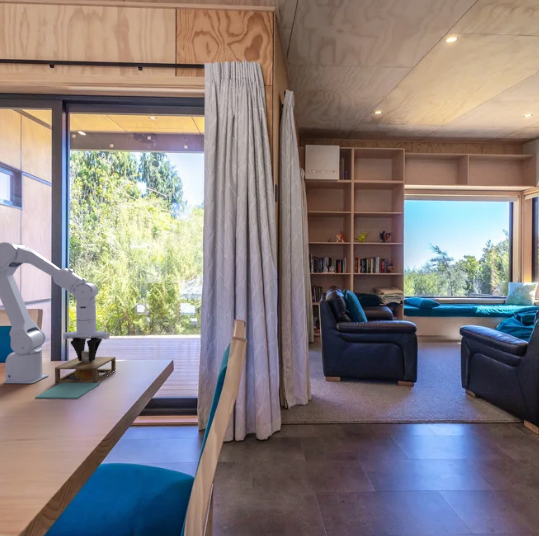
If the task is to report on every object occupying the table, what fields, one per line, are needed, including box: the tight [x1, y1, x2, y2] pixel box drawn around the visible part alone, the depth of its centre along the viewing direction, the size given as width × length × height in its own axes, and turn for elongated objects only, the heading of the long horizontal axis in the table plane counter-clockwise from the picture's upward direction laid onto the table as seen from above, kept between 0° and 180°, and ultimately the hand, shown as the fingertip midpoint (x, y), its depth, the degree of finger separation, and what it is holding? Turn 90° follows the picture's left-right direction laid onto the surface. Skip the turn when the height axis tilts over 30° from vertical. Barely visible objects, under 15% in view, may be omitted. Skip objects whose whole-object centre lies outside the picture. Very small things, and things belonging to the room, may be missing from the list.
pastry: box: [73, 368, 100, 380], centre depth 118 cm, size 9×7×4 cm
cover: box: [54, 349, 117, 384], centre depth 119 cm, size 13×13×8 cm
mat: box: [34, 382, 101, 400], centre depth 106 cm, size 12×12×1 cm
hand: (86, 360), depth 119 cm, fingers closed on cover, 3 cm apart
